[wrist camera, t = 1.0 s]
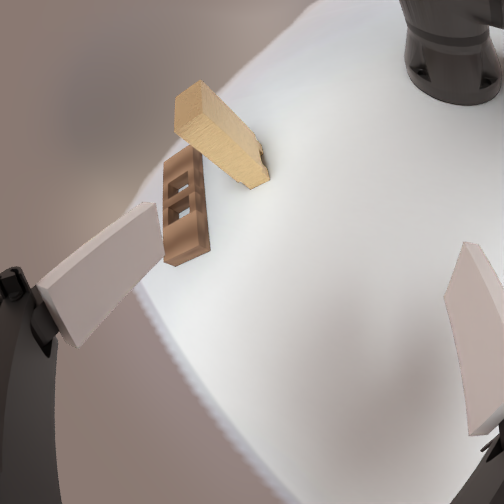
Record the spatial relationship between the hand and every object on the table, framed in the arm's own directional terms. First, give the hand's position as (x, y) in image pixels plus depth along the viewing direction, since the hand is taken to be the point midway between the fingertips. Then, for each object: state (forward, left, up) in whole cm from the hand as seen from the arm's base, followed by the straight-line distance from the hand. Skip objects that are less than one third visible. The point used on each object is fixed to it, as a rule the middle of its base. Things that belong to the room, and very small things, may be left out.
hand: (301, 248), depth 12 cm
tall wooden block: (-14, -22, -21) cm, 33 cm away
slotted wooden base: (-7, -33, -21) cm, 39 cm away
